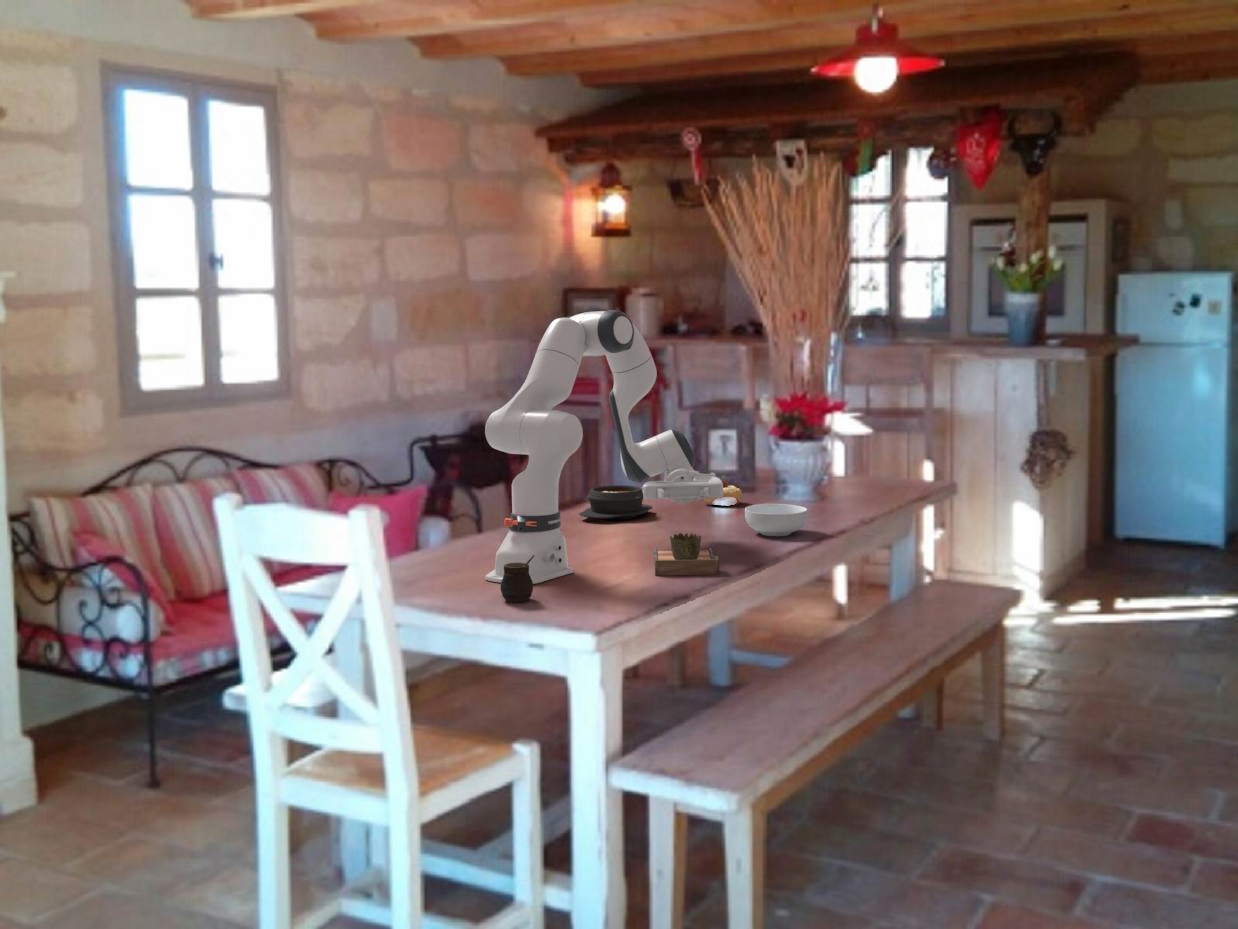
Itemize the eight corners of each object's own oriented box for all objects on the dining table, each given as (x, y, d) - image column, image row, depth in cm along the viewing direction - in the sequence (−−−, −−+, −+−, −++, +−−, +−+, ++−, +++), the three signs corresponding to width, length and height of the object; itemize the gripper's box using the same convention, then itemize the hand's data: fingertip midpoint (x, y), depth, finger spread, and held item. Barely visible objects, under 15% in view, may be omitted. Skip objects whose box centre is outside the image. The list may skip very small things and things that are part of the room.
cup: (691, 572, 334) (691, 539, 332) (664, 569, 337) (664, 537, 336) (706, 567, 340) (706, 534, 339) (680, 564, 344) (679, 531, 343)
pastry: (697, 507, 427) (696, 478, 426) (708, 501, 438) (708, 472, 437) (735, 508, 423) (735, 479, 422) (746, 502, 434) (746, 474, 432)
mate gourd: (498, 597, 311) (497, 553, 310) (532, 595, 313) (531, 551, 312) (503, 605, 304) (501, 559, 303) (537, 602, 306) (536, 557, 305)
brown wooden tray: (719, 574, 331) (718, 560, 331) (655, 575, 331) (655, 560, 331) (711, 548, 362) (711, 535, 362) (653, 549, 362) (653, 536, 362)
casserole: (613, 526, 396) (613, 497, 395) (564, 520, 408) (563, 491, 407) (667, 514, 416) (667, 485, 415) (618, 508, 427) (618, 480, 426)
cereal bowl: (777, 542, 369) (777, 515, 369) (732, 534, 382) (731, 508, 381) (820, 533, 381) (820, 507, 380) (774, 526, 393) (774, 501, 392)
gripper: (641, 474, 362) (641, 483, 348) (720, 472, 362) (724, 481, 348) (641, 498, 363) (642, 508, 349) (721, 496, 363) (724, 506, 349)
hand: (684, 494), depth 349 cm, fingers open, 8 cm apart
